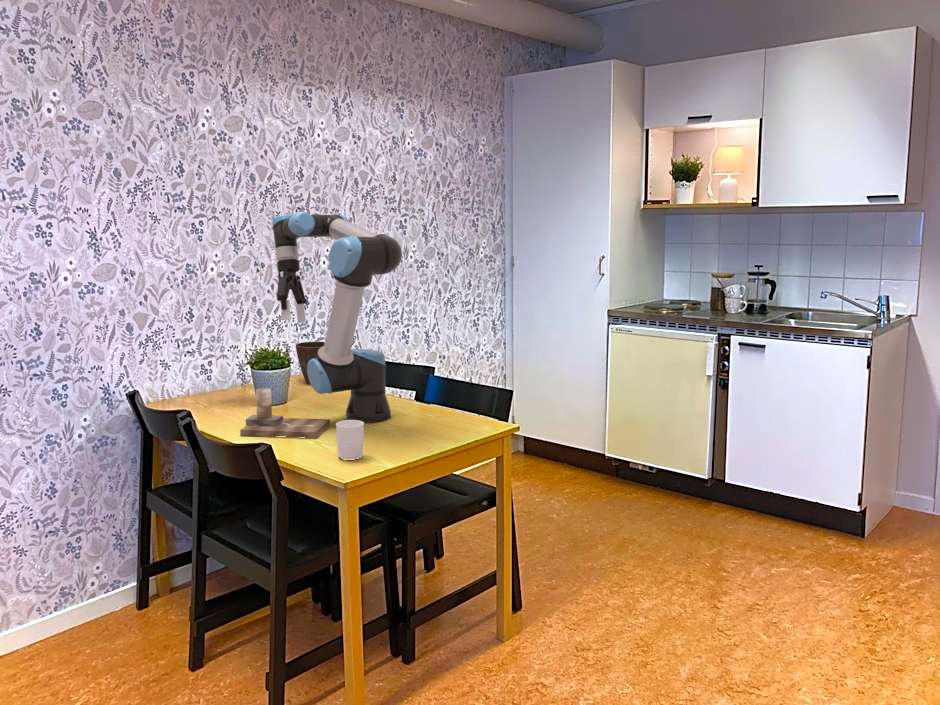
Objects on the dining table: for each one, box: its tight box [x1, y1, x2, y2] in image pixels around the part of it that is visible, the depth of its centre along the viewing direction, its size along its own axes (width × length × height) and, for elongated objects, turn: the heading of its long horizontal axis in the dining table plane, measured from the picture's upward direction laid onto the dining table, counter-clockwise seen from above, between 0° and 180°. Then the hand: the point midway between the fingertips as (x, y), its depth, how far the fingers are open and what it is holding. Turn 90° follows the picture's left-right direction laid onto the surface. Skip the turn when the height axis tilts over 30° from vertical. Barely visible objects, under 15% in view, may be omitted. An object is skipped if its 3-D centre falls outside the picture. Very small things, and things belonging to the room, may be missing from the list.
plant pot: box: [295, 341, 325, 386], centre depth 325 cm, size 15×15×16 cm
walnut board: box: [239, 417, 331, 439], centre depth 255 cm, size 24×16×2 cm, turn 84°
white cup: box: [335, 419, 365, 459], centre depth 227 cm, size 8×8×10 cm
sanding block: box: [245, 387, 284, 427], centre depth 255 cm, size 10×6×11 cm, turn 84°
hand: (294, 321), depth 276 cm, fingers open, 13 cm apart
